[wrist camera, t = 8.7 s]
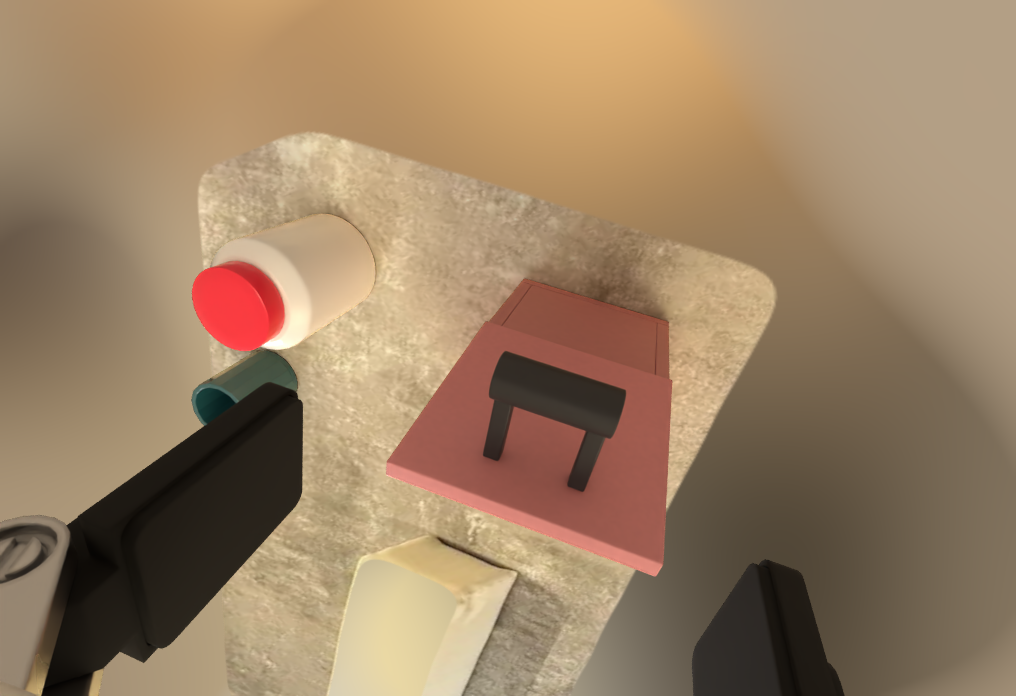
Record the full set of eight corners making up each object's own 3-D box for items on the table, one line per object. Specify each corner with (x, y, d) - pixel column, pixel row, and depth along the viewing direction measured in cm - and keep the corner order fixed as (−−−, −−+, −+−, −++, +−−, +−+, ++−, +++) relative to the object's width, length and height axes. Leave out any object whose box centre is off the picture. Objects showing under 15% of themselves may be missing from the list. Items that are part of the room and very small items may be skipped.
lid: (656, 577, 18) (721, 472, 15) (385, 475, 20) (391, 360, 16) (667, 391, 27) (708, 302, 24) (483, 332, 29) (499, 241, 26)
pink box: (621, 439, 40) (611, 518, 33) (495, 397, 42) (457, 462, 34) (668, 321, 35) (669, 381, 28) (524, 278, 37) (487, 323, 29)
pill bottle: (373, 318, 42) (287, 382, 32) (291, 294, 43) (184, 348, 33) (378, 226, 38) (282, 267, 29) (288, 202, 39) (167, 234, 30)
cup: (237, 355, 48) (180, 388, 42) (281, 345, 46) (227, 379, 40) (264, 404, 49) (212, 442, 44) (306, 397, 48) (258, 436, 42)
